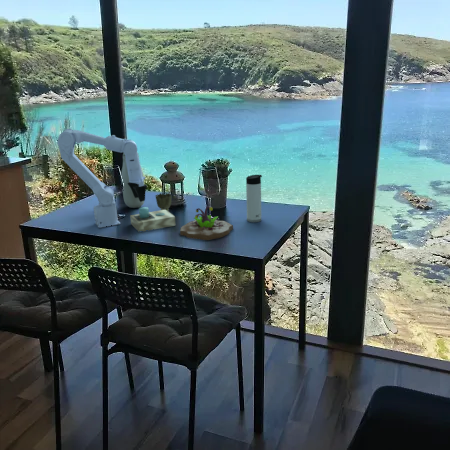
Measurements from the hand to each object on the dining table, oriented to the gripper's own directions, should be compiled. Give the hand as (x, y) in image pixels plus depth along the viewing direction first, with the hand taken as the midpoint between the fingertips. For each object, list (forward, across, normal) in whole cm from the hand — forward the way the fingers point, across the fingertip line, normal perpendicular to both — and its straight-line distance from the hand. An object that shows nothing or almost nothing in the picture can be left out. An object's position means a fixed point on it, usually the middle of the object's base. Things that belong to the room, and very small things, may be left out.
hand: (139, 199), depth 211 cm
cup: (+11, +8, -13) cm, 19 cm away
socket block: (+10, -8, -2) cm, 13 cm away
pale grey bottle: (+10, +22, -3) cm, 25 cm away
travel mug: (+14, -26, -42) cm, 51 cm away
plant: (+13, -27, -18) cm, 35 cm away
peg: (+6, -8, +1) cm, 10 cm away
